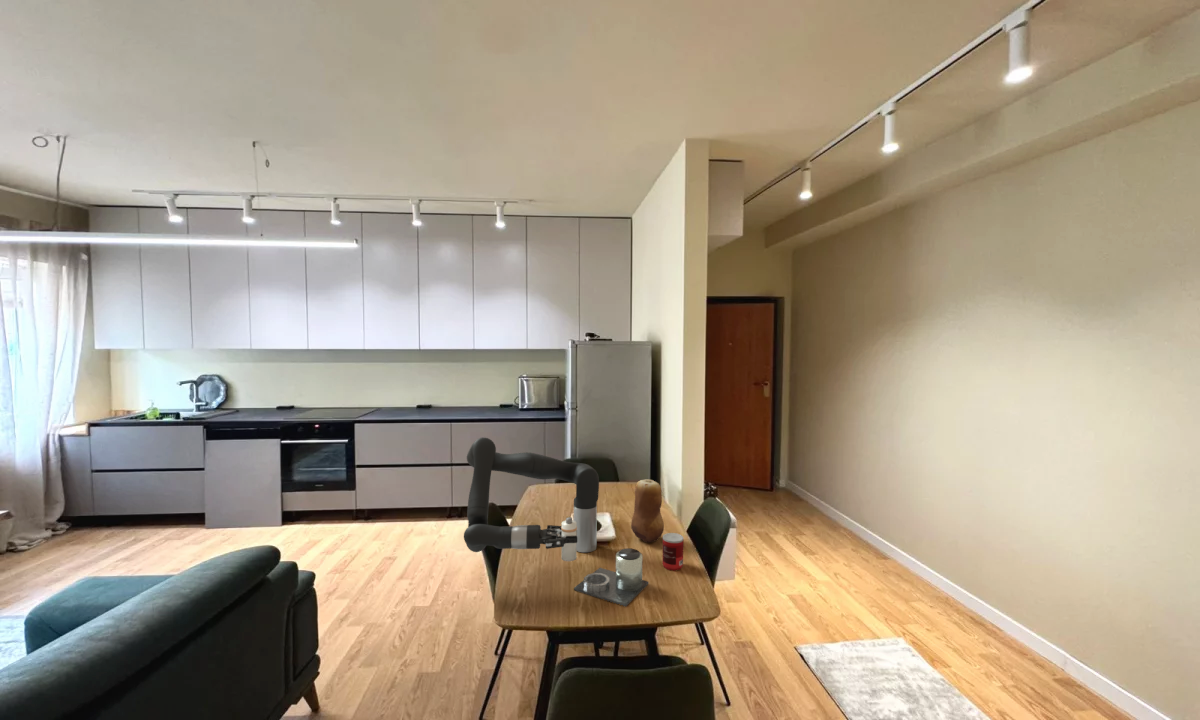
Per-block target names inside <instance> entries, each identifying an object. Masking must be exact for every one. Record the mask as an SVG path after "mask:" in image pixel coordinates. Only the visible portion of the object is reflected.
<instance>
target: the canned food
mask: <svg viewBox="0 0 1200 720" xmlns="http://www.w3.org/2000/svg"><path fill="white" fill-rule="evenodd" d="M684 540H685V539H684V536H683V535H681V534H680V533H677V532H668V533H665V534H662V567H663V568H664V569H666V570H667V571H671V570H673V572H676V570H677V571H680V570H681V568H682V569H683V566H684Z"/></svg>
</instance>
